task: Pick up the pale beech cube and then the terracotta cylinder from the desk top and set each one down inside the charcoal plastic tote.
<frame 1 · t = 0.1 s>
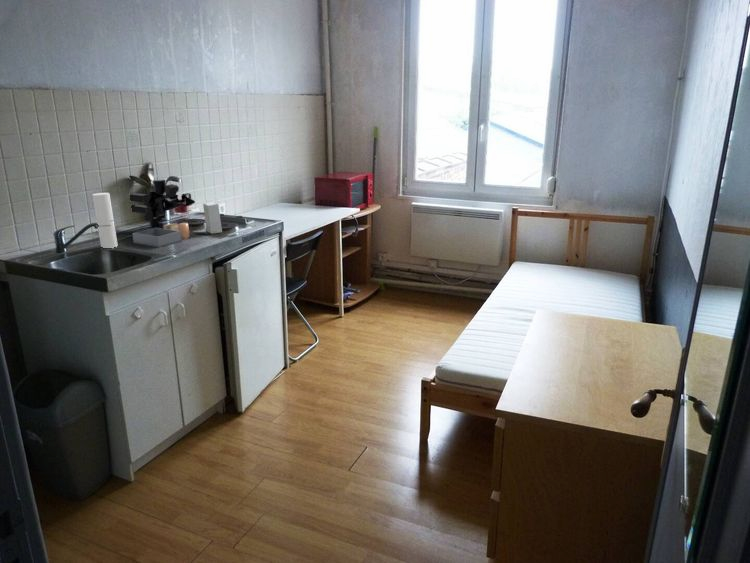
hand: (187, 203, 280), 17 cm above the countertop, tool horizontal, fingers open, 9 cm apart
beech cube: (172, 234, 289), on the countertop
skincare box: (213, 232, 293), on the countertop
tote: (157, 242, 273), on the countertop
terracotta cylinder: (184, 237, 282), on the countertop
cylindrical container: (109, 247, 266), on the countertop
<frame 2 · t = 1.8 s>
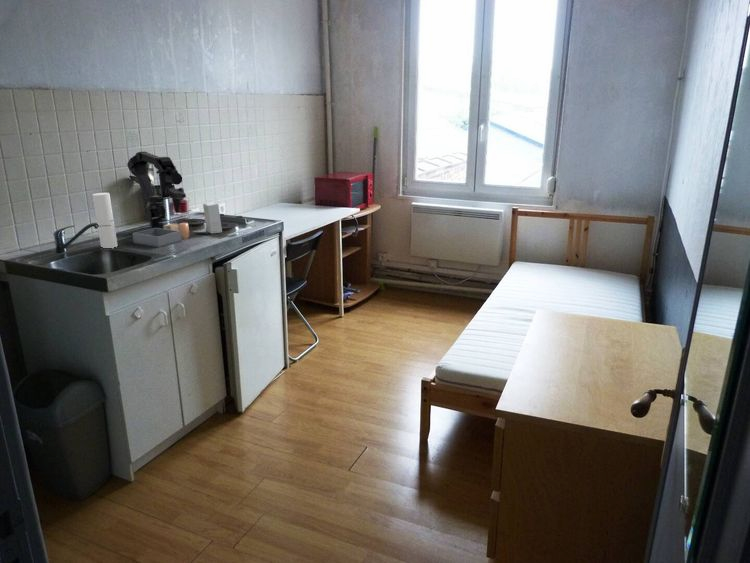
hand: (169, 213, 286), 11 cm above the countertop, tool pointing down, fingers open, 9 cm apart
nothing on the countertop moved.
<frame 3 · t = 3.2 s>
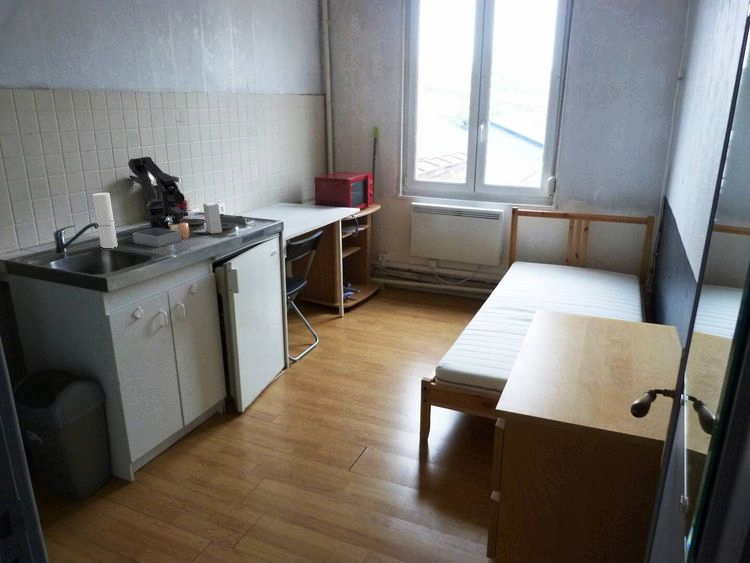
hand: (172, 232, 289), 1 cm above the countertop, tool pointing down, fingers closed on beech cube, 5 cm apart
beech cube: (172, 234, 289), on the countertop, touching gripper
everything else where it was.
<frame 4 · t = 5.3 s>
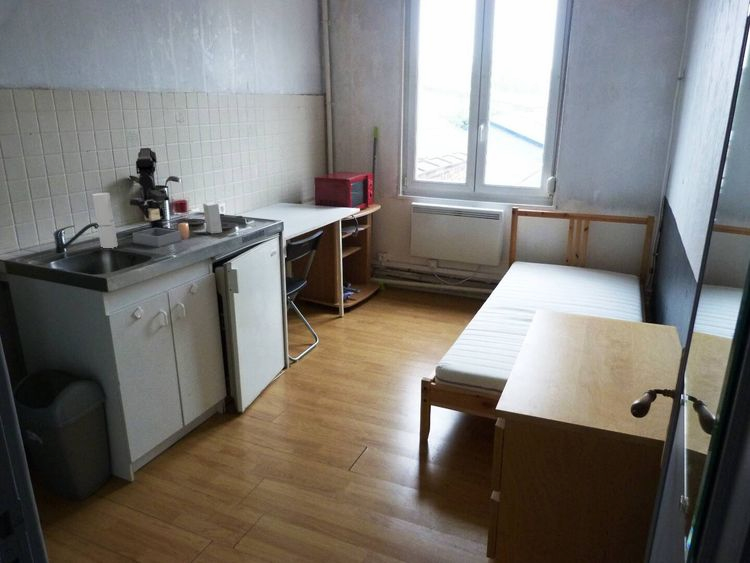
hand: (152, 217, 274), 11 cm above the countertop, tool pointing down, fingers closed on beech cube, 5 cm apart
beech cube: (152, 219, 274), point 10 cm above the countertop, touching gripper
everything else where it was.
when the fingers open (4 cm above the countertop, at t = 7.2 s): beech cube drops 2 cm, resting on tote.
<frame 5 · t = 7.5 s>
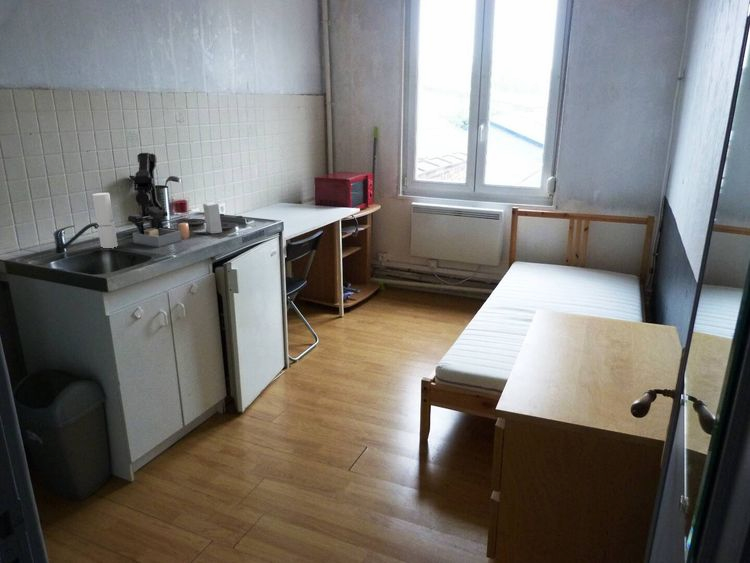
hand: (150, 233, 274), 4 cm above the countertop, tool pointing down, fingers open, 8 cm apart
beech cube: (151, 240, 275), point 1 cm above the countertop, touching tote
everything else where it was.
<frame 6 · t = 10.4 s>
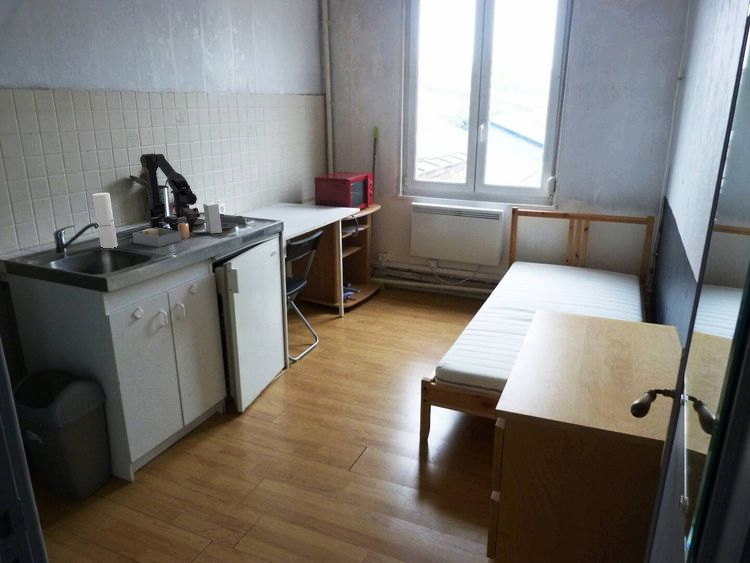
hand: (184, 234, 281), 2 cm above the countertop, tool pointing down, fingers open, 8 cm apart
nothing on the countertop moved.
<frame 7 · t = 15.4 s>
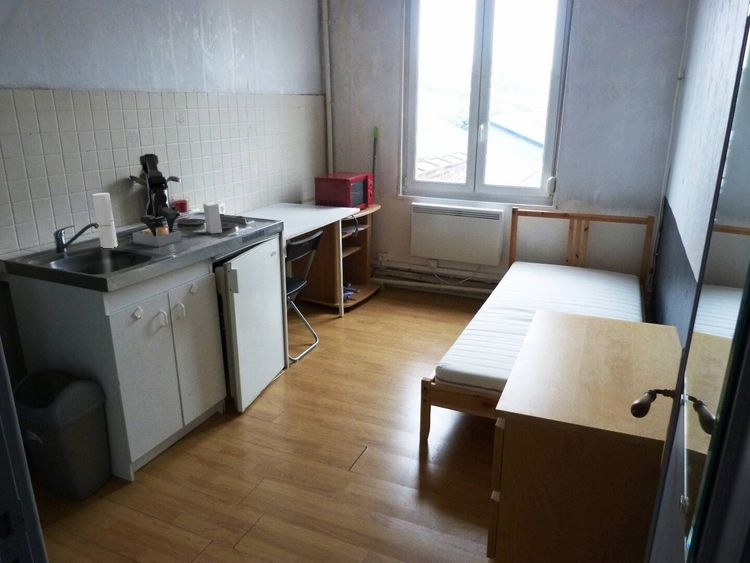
hand: (163, 234, 270), 4 cm above the countertop, tool pointing down, fingers open, 9 cm apart
terracotta cylinder: (164, 242, 271), point 1 cm above the countertop, touching tote
everything else where it was.
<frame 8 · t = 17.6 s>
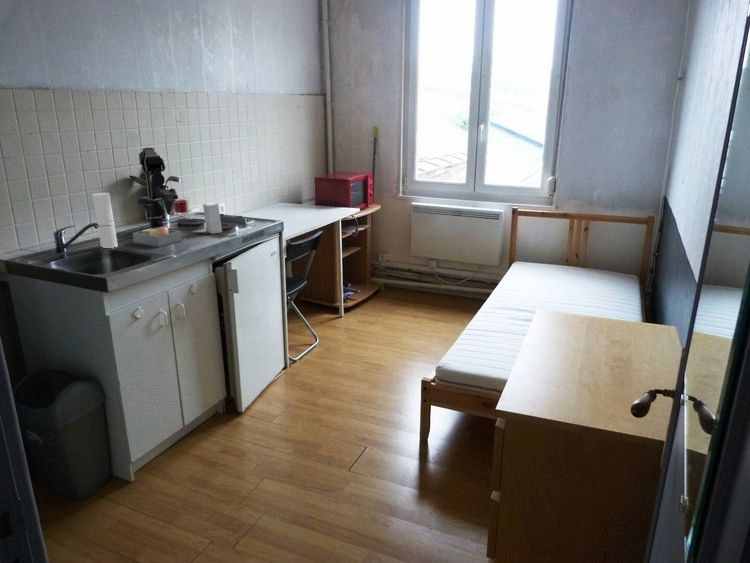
hand: (160, 216, 267), 13 cm above the countertop, tool pointing down, fingers open, 9 cm apart
nothing on the countertop moved.
at the end: beech cube inside the target area on the tote (4.4 cm from its centre), point 0.6 cm above the tote's base; terracotta cylinder inside the target area on the tote (4.6 cm from its centre), point 0.6 cm above the tote's base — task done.
